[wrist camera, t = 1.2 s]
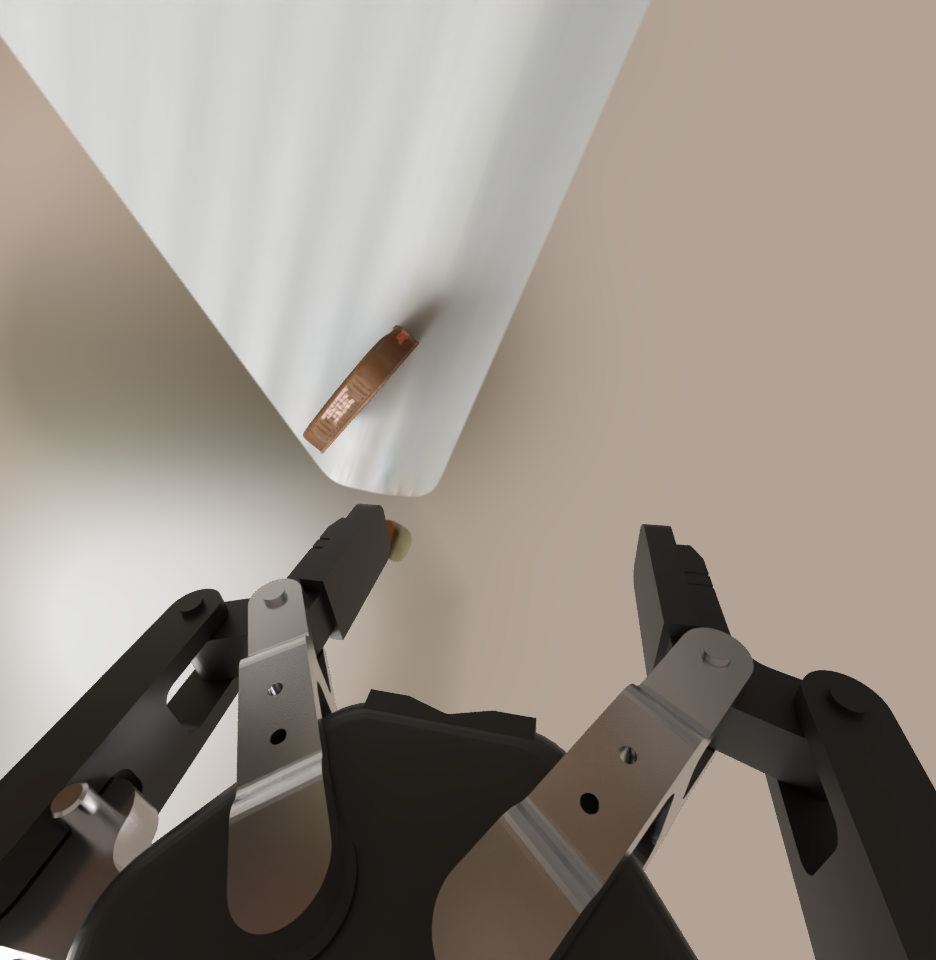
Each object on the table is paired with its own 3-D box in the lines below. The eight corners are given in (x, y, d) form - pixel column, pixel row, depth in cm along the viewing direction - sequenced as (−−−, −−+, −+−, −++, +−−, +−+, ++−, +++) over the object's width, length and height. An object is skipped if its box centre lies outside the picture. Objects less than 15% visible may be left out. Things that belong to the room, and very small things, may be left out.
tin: (344, 427, 48) (315, 471, 41) (321, 409, 47) (286, 451, 40) (429, 332, 40) (409, 367, 34) (403, 307, 39) (377, 339, 32)
